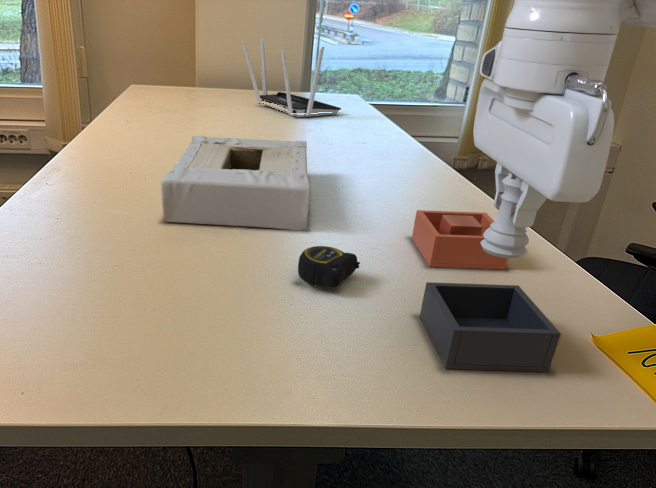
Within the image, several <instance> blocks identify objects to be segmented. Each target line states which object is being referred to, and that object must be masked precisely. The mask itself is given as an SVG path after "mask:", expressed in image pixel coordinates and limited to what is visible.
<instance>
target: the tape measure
mask: <svg viewBox="0 0 656 488" xmlns="http://www.w3.org/2000/svg"><path fill="white" fill-rule="evenodd" d="M360 264H361V262H360V261H358V257H357V255H356V254H355V253H352V252H345V251H342V250H341V249H338V248H336V247H332V246H327V245H315V246H310V247H307V248H306V249H304V250H303V251H302V252H301V253H300V254H299V258H298V264H297V273H298V276H299V278H300V279H301V280H302V281H303V282H305V283H306V284H309V285H310V286H315V287H322V288H327V289H337V288H339V287H340V286H341V285H342V283H343V282H344V281H346V279H348V278H349V277H351V276H352V275H353V274H354V273H355V272H356V269H358V270H359V269H360Z"/></svg>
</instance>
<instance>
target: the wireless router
mask: <svg viewBox="0 0 656 488" xmlns="http://www.w3.org/2000/svg"><path fill="white" fill-rule="evenodd" d="M259 43H260V58H261V59H260V62H261V82H262V94H260V92H259V87H258V85H257V81H256V76H255V74H254V73H255V72H254V70H253V69H254V68H253V66H252V61H251V58H250V54H249V51H248V47H247V44H246V43H245V42H244V41H243V40H241V44H242V48H243V51H244V55H245V60H246V63H247V67H248V71H249V75H250V79H251V82H252V83H251V84H252V86H253V90H254V94H255V98H256V102H257V101H259V102H261V101H265V102H269V103H274V104H277V105H279V106H280V107H282V108H285V109H288V111H289V112H288V111H285V110H282V109H279V108H276V107H273V106H270V105H267V104H265V105H267V106H270V107H272V108H275V109H278V110H280V111H279V112H281V111H283V112H282V113H284V112H286V113H285V114H287V113H288V114H287V115H289V116H291V115H290V114H289V113H306V114H307V115H306V114H304V115H297V114H293V115H292V116H293V117H295V118H307V117H318V116H329V115H330V116H332V115H337V113H338V112H339V111H341V110H342V108H341V107H339V106H337V105H336V106H335V105H332V104H328V103H325V102H322V101H318V100H315V97H316V92H317V86H318V81H319V76H320V71H321V65H322V62H323V61H322V60H323V55H324V50H325V46H321V48H320V49H319V51H318V55H317V60H316V66H315V69H314V74H313V80H312V84H311V89H310V94H309V98H307V97H305V96H302V95H301V96H300V95H295V94H292V93H291V88H290V80H289V72H288V71H289V70H288V66H287V65H288V64H287V56H286V52H285V50H284V49H283V48H282V47H281V48H280V52H281V61H282V69H283V77H284V84H285V92H281V91H278V92H277V93H276V94H268V83H267V67H266V54H265V53H266V52H265V39H264V38H263V36H259ZM263 104H264V103H262V105H263ZM272 108H271V109H272ZM275 109H274V110H275ZM278 110H277V111H278ZM318 112H332V113H318ZM311 113H318V114H311Z"/></svg>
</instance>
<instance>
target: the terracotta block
mask: <svg viewBox="0 0 656 488" xmlns="http://www.w3.org/2000/svg"><path fill="white" fill-rule="evenodd" d="M482 228H483V226H482V225H481V224H480V223H479V222H478V221H477V220H476V219H475V218H474V217H473V216H462V215H442V218H441V223H440V229H439V234H443V235H470V236H481V233H482Z"/></svg>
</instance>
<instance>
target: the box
mask: <svg viewBox="0 0 656 488" xmlns="http://www.w3.org/2000/svg"><path fill="white" fill-rule="evenodd" d="M307 145H308V144H307V141H306V140H278V139H277V140H273V139H257V138H256V139H255V138H237V137H219V136H206V135H193V136H192V137H191V141H190V142H189V144H188V145H187V147H186V148H185V150H184V152H183V153H182V154H181V156H180V157H179V158H178V160H177V162H176V163H175V164H174V166H173V167H172V169H171V170H170V171H168V172H167V173H166V174H165V175H164V176H163V177H162V180H161V181H160V188H161V189H160V190H161V192H160V193H161V205H162V213H163V220H164V222H167V223H179V224H181V223H182V224H183V223H184V224H199V225H213V226H214V225H216V226H231V227H246V228H247V227H248V228H262V229H277V230H294V231H306V230H307V228H308V222H309V214H310V213H309V211H310V200H311V184H310V180H309V178H308V157H307V156H308V155H307V154H308V153H307V147H308V146H307Z"/></svg>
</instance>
